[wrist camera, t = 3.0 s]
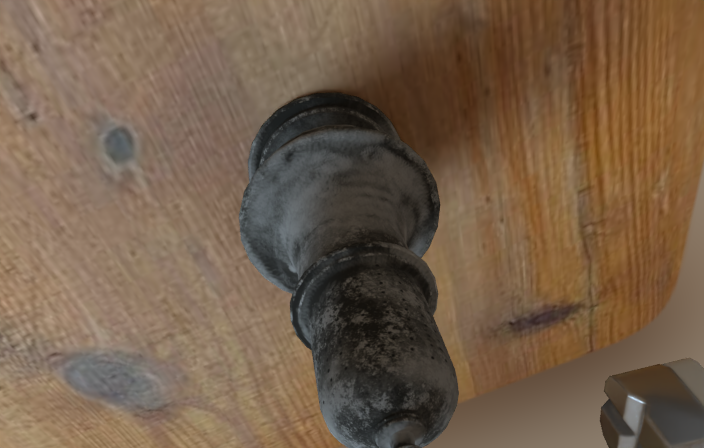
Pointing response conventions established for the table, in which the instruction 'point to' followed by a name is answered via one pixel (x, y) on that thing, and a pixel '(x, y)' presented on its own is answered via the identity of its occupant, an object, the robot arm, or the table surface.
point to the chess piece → (353, 265)
